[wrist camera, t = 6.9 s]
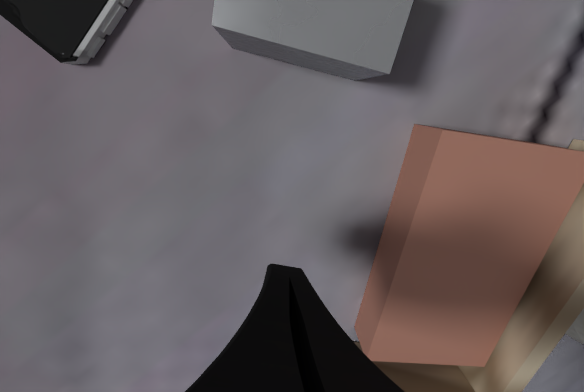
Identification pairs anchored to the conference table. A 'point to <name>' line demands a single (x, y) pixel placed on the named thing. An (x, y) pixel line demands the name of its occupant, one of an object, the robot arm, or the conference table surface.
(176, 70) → the conference table surface
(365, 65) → the grey rectangular block
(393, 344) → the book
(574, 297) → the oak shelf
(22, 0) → the smartphone
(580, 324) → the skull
